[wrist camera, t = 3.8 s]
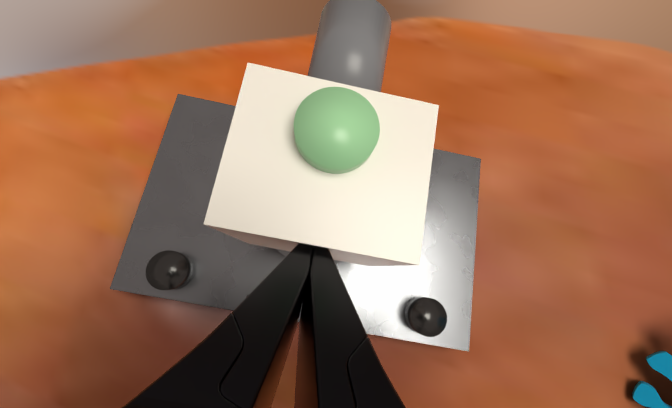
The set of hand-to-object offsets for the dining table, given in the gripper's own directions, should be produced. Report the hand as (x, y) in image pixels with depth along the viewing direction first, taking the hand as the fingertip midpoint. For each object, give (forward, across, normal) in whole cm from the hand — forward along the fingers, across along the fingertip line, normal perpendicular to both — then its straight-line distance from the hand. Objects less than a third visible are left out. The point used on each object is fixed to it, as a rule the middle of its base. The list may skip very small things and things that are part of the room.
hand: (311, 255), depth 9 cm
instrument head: (+8, 0, +2) cm, 8 cm away
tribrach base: (+10, 0, +6) cm, 11 cm away
